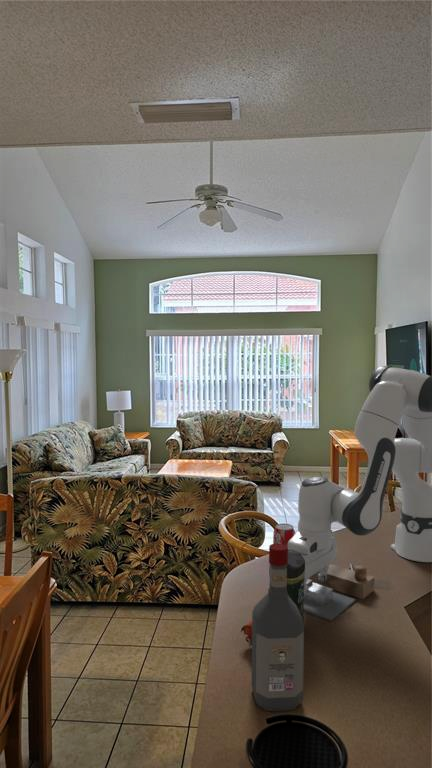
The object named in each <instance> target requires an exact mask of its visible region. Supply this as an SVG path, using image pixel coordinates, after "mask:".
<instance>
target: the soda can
mask: <svg viewBox="0 0 432 768" xmlns="http://www.w3.org/2000/svg"><path fill="white" fill-rule="evenodd" d="M294 528H295V527H294V526H293V524H290V523H278V524H276V525H275V528H274V530H273V535H272V536H273V537H272V538H273V541H272V544H284V545H286V546H288V542H289V540H290V539H291V538H292V537H293V536H294V534H295V533H296V530H295V529H294ZM288 551H289V552H290V549H288Z"/></svg>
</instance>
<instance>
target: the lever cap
mask: <svg viewBox="0 0 432 768" xmlns="http://www.w3.org/2000/svg"><path fill="white" fill-rule="evenodd" d="M306 584H307V586H309V589H308V590H309V592H308V593H306V594H304V600H307V601H310V602H313V603H316V604H318V605H321V606H325V605H327V604H328V603H329V602H331V601H332V600H333V592H334V589H332V588H329V587H326V586H323V585H320V584H317V583H314V582H313V580H310V579H307V582H306Z"/></svg>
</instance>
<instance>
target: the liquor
mask: <svg viewBox="0 0 432 768" xmlns="http://www.w3.org/2000/svg"><path fill="white" fill-rule="evenodd" d="M268 564H269V567H270V577H269V588H268V589H267V594H266V595H264V597H262V599H260V600H259V601H258V602H257V603H256V604H255V605H254V607H253V610H252V612H251V613H252V615H251V616H252V618H251V619H252V620H251V621H252V646H251V687H252V693H253V696H254V699H255V704H256V705H257V706H258V707H259V708H261V709H263V710H265V711H267V712H281V711H282V712H284V711H294V710H296V708H297V707H298V706H300V704H301V703H302V701H303V700H304V655H305V654H304V652H305V651H304V649H305V648H304V647H305V621H304V622H303V619H302V616H301V614H300V612H299V610H298V608H297V606H296V604H295V603H294V602H293V601H292V600H291V598H290V597H289V596H288V593H287V564H288V546H286V545H284V544H273V543H272V544H270V545H269V547H268Z"/></svg>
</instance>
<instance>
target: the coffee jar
mask: <svg viewBox="0 0 432 768" xmlns="http://www.w3.org/2000/svg"><path fill="white" fill-rule="evenodd" d="M268 574H269V578H270V566H269V569H268ZM304 578H305V559H304V558H303V557H302V556H301V554H299V553H294V552H289V551H288V564H287V593H288V596H289V597H290V598H291V600H292V601H293V602H294V603H295V604H296V606H297V608H298V610H299V612H300V614H301V616H302V619H303V622H304V623H305V611H304Z"/></svg>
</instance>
